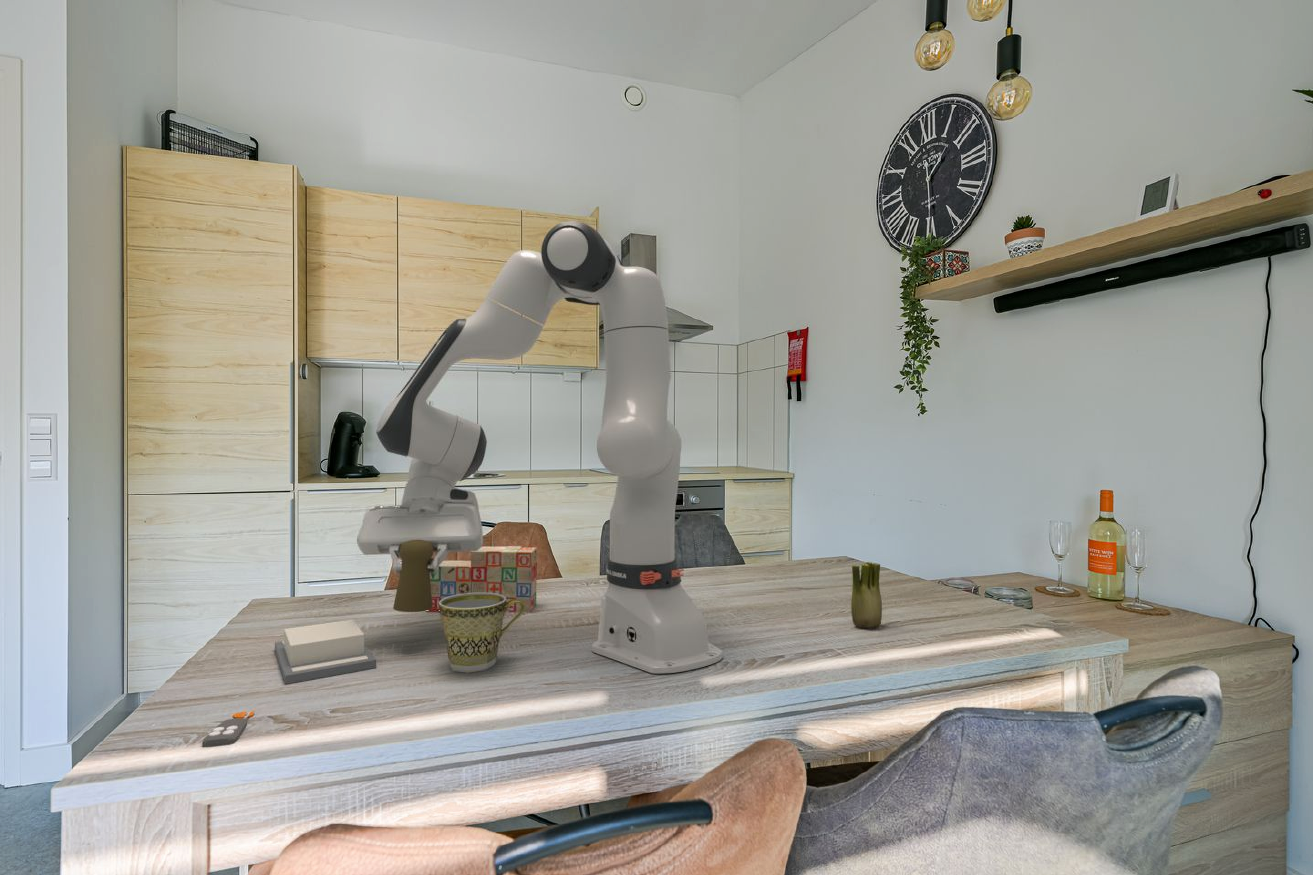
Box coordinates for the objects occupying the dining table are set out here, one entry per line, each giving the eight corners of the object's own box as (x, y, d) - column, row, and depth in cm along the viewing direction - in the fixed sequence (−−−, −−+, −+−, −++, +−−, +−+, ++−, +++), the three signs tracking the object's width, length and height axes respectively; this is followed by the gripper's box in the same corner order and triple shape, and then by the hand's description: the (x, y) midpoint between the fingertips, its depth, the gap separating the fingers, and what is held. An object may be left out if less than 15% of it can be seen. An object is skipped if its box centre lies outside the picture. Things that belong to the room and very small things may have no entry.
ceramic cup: (444, 681, 93) (444, 611, 93) (433, 660, 102) (433, 596, 102) (533, 667, 99) (533, 601, 99) (515, 648, 108) (515, 587, 108)
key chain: (237, 748, 74) (237, 735, 74) (199, 752, 73) (199, 738, 73) (271, 703, 87) (271, 692, 87) (239, 706, 86) (239, 694, 86)
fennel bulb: (851, 629, 120) (852, 564, 120) (848, 622, 124) (848, 559, 124) (885, 631, 119) (885, 565, 119) (880, 624, 123) (880, 560, 123)
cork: (400, 602, 110) (404, 536, 110) (436, 603, 111) (440, 538, 111) (387, 611, 104) (392, 542, 104) (426, 612, 105) (431, 544, 105)
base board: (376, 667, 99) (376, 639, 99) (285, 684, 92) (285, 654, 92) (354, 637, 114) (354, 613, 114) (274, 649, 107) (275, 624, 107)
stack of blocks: (424, 612, 131) (424, 550, 131) (434, 604, 137) (435, 545, 137) (531, 612, 131) (532, 551, 131) (537, 604, 137) (537, 546, 137)
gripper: (362, 495, 113) (343, 562, 103) (483, 492, 116) (476, 557, 106) (370, 518, 118) (353, 584, 108) (487, 514, 120) (480, 579, 110)
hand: (415, 571), depth 107 cm, fingers closed on cork, 4 cm apart
